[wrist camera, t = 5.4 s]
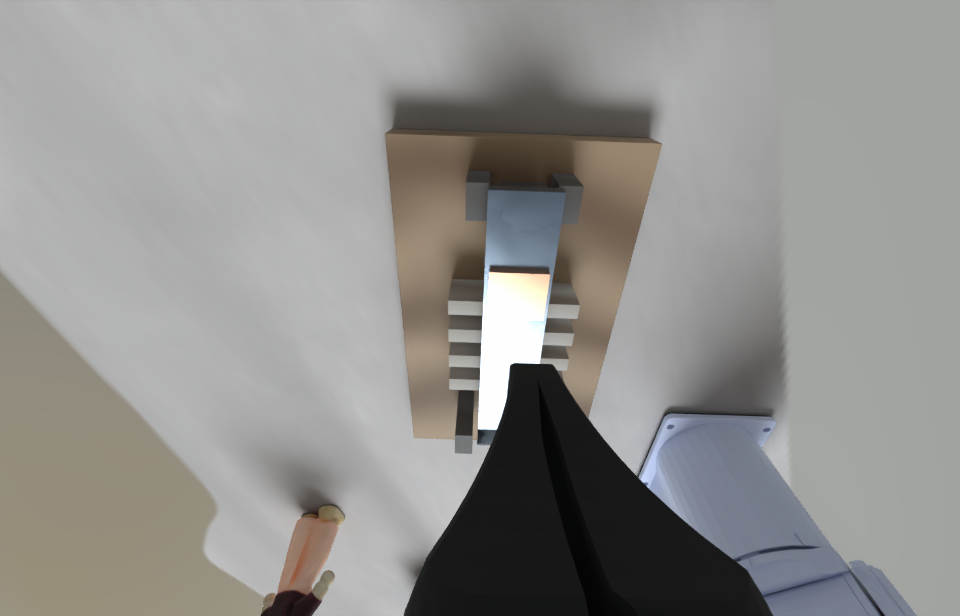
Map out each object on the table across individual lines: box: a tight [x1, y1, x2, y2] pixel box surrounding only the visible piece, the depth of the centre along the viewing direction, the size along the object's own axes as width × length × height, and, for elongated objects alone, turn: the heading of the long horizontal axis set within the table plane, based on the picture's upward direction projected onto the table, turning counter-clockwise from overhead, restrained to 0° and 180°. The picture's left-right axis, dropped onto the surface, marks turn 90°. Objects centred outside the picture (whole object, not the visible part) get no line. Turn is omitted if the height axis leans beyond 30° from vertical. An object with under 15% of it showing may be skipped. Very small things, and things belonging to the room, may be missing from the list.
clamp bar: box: [477, 181, 566, 445], centre depth 19 cm, size 15×3×2 cm, turn 178°
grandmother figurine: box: [261, 505, 345, 616], centre depth 31 cm, size 8×4×13 cm, turn 136°
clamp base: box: [385, 129, 662, 454], centre depth 21 cm, size 20×12×5 cm, turn 178°
